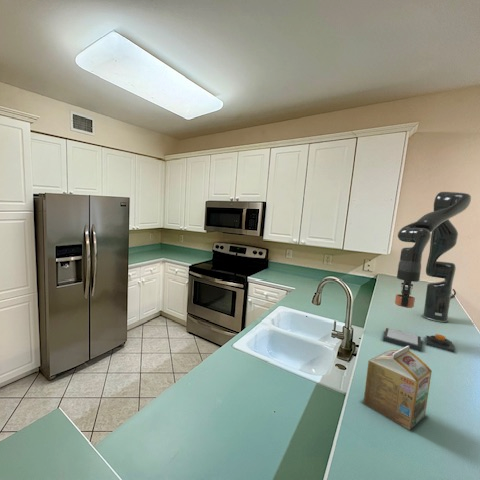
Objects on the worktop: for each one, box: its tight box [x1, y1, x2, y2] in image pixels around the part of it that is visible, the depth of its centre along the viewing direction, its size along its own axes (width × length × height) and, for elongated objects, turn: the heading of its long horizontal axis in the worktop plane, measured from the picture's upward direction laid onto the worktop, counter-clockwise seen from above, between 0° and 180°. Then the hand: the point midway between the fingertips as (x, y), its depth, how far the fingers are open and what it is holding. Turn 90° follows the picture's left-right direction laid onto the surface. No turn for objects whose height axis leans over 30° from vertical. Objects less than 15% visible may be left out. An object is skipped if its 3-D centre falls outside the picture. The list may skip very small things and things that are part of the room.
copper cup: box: [394, 293, 416, 309], centre depth 118 cm, size 6×6×5 cm
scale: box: [382, 327, 422, 352], centre depth 116 cm, size 14×12×3 cm
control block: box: [425, 335, 455, 353], centre depth 113 cm, size 10×8×3 cm
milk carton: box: [363, 346, 433, 431], centre depth 73 cm, size 11×10×19 cm
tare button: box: [434, 333, 447, 341], centre depth 112 cm, size 3×3×2 cm
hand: (404, 304), depth 118 cm, fingers closed on copper cup, 6 cm apart
